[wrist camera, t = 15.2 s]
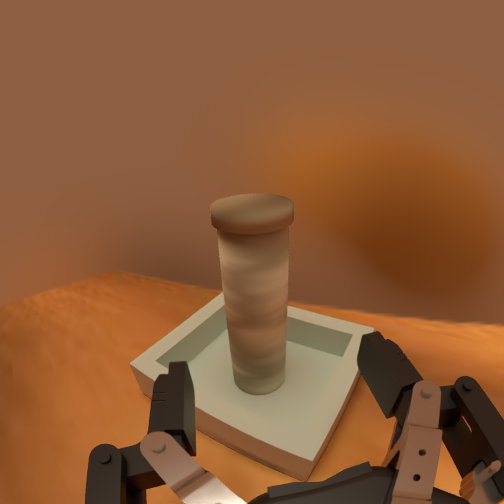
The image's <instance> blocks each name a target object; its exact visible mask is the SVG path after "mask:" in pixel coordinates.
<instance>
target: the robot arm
mask: <svg viewBox="0 0 504 504" xmlns="http://www.w3.org/2000/svg"><path fill="white" fill-rule="evenodd" d="M357 366H358V369H359V371H360V372H361V374H362V376H363V378H364V379H365V381H366V383H367V385H368V386H369V388H370V390H371V392H372V393H373V395H374V397H375V399H376V401H377V402H378V404H379V406H380V408H381V410H382V411H383V413H384V415H385V417H386V419H388V418H390V417H393V416H395V417H396V419H397V420H396V422H395V426H394V430H393V434H392V437H391V441H390V445H389V448H388V452H387V455H386V457H385V459H384V461H383V463H382V466H370V463H369V461H368V462H365V463H362V464H360V465H357V466H353V467H350V468H347V469H345V470H343V471H341V472H339V473H338V474H336V475H334V476H332V477H330V478H328V479H327V480H325V481H322V482H293V483H288V484H282V485H277V486H271V487H267V489H268V492H267V493H264V494H262V495H260V496H258V497H256V498H254V499H253V500H251V501H250V502H249V503H248V504H500V503H502V502H503V501H504V420H503V418H502V417H501V415H500V414H499V412H498V411H497V409H496V408H495V407H494V405H493V404H492V402H491V401H490V399H489V398H488V397H487V395H486V394H485V392H484V391H483V390H482V388H481V387H480V386H479V384H478V383H477V382H476V380H474V379H473V378H471V377H468V376H462V377H460V378H458V379H457V380H456V382H455V384H454V385H450V386H441V387H439V386H438V385H437V384H436V383H434V382H432V381H429V380H423V378H422V377H421V376H420V374H419V373H418V371H417V370H416V369H415V367H414V366H413V365H412V363H411V362H410V361H409V359H407V357H406V355H405V354H404V353H403V351H402V350H401V349H400V347H399V346H398V345H397V344H396V343H394V342H393V341H391V340H390V339H387V340H385V339H384V337H383V336H382V335H381V333H380V332H378V331H376V332H372V333H368V334H363V335H362V338H361V342H360V346H359V351H358V355H357ZM152 393H153V395H152V400H151V401H152V402H151V409H150V418H149V427H148V433H147V435H146V436H145V437H144V438H143V439H142V441H141V442H139V443H138V444H136V445H133V446H129V447H125V448H120V449H117V448H116V447H115V446H113V445H110V444H101V445H98V446H96V447H95V448H94V449H93V450H92V451H91V453H90V456H89V463H88V471H87V481H86V493H85V504H147V501H146V489H149V488H153V487H157V486H161V485H165V484H167V485H168V486H169V487H170V488H171V489H172V490H173V491H174V493H175V494H176V495H177V496H178V497H179V498H180V499H181V500H182V501H183V502H184V503H185V504H247V503H246V502H244V501H243V500H242V499H241V498H239V497H238V496H237V495H236V494H235V493H233V492H232V491H231V490H230V489H229V488H227V487H226V486H225V485H224V484H223V483H222V482H221V481H219V480H218V479H217V478H216V477H215V476H214V475H213V474H211V473H210V472H209V471H206V470H204V469H203V468H202V467H201V466H200V465H199V464H198V463H197V462H196V461H195V460H194V459H193V458H192V457H191V456H196V433H195V392H194V385H193V381H192V378H191V374H190V371H189V367H188V363H187V361H177V362H170V363H169V370H168V374H159V376H158V377H157V379H156V380H155V382H154V385H153V392H152ZM462 416H464V418H465V419H466V421H467V423H468V424H469V426H470V428H471V430H472V433H471V431H470V429H469V427H468V426H467V424H466V423H465V421H464V419H463V418H462ZM441 440H443V442H444V444H445V446H446V448H447V450H448V452H449V454H450V456H451V457H452V459H453V461H454V463H455V465H456V467H457V469H458V471H459V473H460V475H461V477H462V481H461V486H460V488H461V489H460V490H459V494H460V496H462V497H459V496H456V495H453V494H451V493H448V492H445V491H443V490H440V489H438V488H435V487H433V486H434V481H435V476H436V471H437V466H438V460H439V454H440V447H441Z"/></svg>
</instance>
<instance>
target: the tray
mask: <svg viewBox="0 0 504 504" xmlns="http://www.w3.org/2000/svg"><path fill="white" fill-rule="evenodd" d="M372 332H374V328H372V327H368V326H364V325H360V324H356V323H352V322H348V321H344V320H340V319H336V318H332V317H328V316H325V315H321V314H317V313H313V312H310V311H306V310H302V309H299V308H295V307H291V306H288V307H287V337H286V361H285V379H284V382H283V384H282V385H281V387H280V388H279V389H277V390H276V391H274V392H272V393H270V394H266V395H251V394H247V393H245V392H243V391H242V390H240V389H239V388H238V387H237V386H236V384H235V382H234V376H233V369H232V361H231V353H230V345H229V337H228V329H227V320H226V311H225V303H224V294H223V292H222V293H221V294H220V295H218V296H217V297H216V298H214V299H213V300H212V301H211V302H209V303H208V304H207V305H205V306H204V307H203V308H201V309H200V310H199V311H198V312H196V313H195V314H194V315H192V316H191V317H190V318H188V319H187V320H186V321H185V322H183V323H182V324H181V325H179V326H178V327H177V328H175V329H174V330H173V331H171V332H170V333H169V334H167V335H166V336H165V337H164V338H162V339H161V340H160V341H158V342H157V343H156V344H154V345H153V346H152V347H150V348H149V349H148V350H146V351H145V352H144V353H142V354H141V355H140V356H138V357H137V358H136V359H134V360H133V361H132V362H130V363H129V364H130V366H131V368H132V370H133V373H134V375H135V377H136V379H137V381H138V384H139V386H140V388H141V390H142V392H143V394H145V395H146V396H148V397H149V398H150V399H152V395H153V393H152V392H153V385H154V382H155V380H156V379H157V377H158V376H159V374H168V370H169V363H170V362H177V361H187V363H188V367H189V371H190V374H191V378H192V381H193V385H194V392H195V428H196V429H197V430H199V431H201V432H202V433H204V434H206V435H207V436H209V437H211V438H213V439H214V440H216V441H218V442H220V443H222V444H223V445H225V446H227V447H229V448H231V449H233V450H235V451H237V452H239V453H241V454H243V455H245V456H247V457H249V458H251V459H253V460H255V461H257V462H259V463H261V464H263V465H266V466H268V467H270V468H272V469H275V470H277V471H279V472H282V473H284V474H286V475H289V476H291V477H294V478H296V479H299V480H302V481H304V482H306V481H307V480H308V478H309V476H310V475H311V473H312V471H313V470H314V468H315V466H316V464H317V463H318V461H319V459H320V457H321V456H322V454H323V452H324V450H325V448H326V447H327V445H328V443H329V441H330V439H331V437H332V435H333V433H334V431H335V429H336V427H337V425H338V423H339V421H340V419H341V417H342V415H343V413H344V411H345V409H346V406H347V404H348V402H349V400H350V398H351V395H352V393H353V391H354V389H355V386H356V384H357V382H358V379H359V377H360V374H361V372H360V371H359V369H358V366H357V355H358V351H359V346H360V342H361V338H362V335H363V334H368V333H372Z"/></svg>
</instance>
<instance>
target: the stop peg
mask: <svg viewBox="0 0 504 504" xmlns="http://www.w3.org/2000/svg"><path fill="white" fill-rule="evenodd" d="M210 212H211V222H212V225H213V227H215V228H216V229H217V234H218V245H219V255H220V265H221V275H222V284H223V294H224V303H225V311H226V320H227V329H228V337H229V345H230V353H231V361H232V369H233V376H234V382H235V384H236V386H237V387H238V388H239V389H240V390H242V391H243V392H245V393H247V394H251V395H266V394H270V393H272V392H274V391H276V390H277V389H279V388H280V387H281V385H282V384H283V382H284V379H285V361H286V337H287V307H288V258H289V256H288V255H289V225H291V224H292V223H293V221H294V202H293V201H292V200H291V199H289V198H287V197H284V196H280V195H274V194H241V195H234V196H229V197H225V198H222V199H219V200H217V201H215V202H213V203H212V204H211V205H210Z"/></svg>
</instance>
